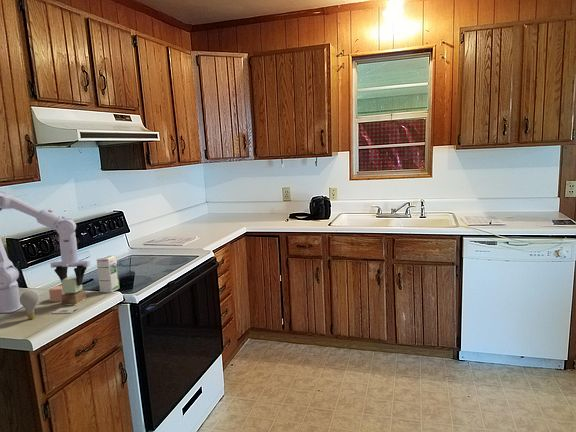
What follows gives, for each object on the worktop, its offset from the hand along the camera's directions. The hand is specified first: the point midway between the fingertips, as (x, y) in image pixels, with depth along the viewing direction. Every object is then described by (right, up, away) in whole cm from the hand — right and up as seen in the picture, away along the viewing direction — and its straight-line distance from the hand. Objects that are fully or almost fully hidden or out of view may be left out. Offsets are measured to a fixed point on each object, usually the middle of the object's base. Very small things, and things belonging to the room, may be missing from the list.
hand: (72, 285), depth 162 cm
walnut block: (0, -7, +1) cm, 7 cm away
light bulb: (-6, -9, -16) cm, 19 cm away
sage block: (0, -2, 0) cm, 2 cm away
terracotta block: (-8, -7, +5) cm, 11 cm away
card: (+2, -8, -9) cm, 12 cm away
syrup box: (+8, -5, +15) cm, 18 cm away
